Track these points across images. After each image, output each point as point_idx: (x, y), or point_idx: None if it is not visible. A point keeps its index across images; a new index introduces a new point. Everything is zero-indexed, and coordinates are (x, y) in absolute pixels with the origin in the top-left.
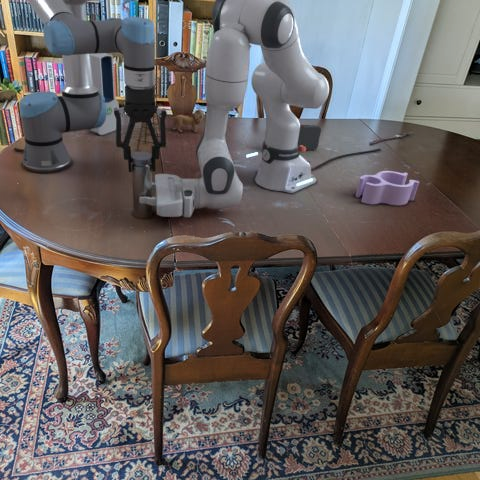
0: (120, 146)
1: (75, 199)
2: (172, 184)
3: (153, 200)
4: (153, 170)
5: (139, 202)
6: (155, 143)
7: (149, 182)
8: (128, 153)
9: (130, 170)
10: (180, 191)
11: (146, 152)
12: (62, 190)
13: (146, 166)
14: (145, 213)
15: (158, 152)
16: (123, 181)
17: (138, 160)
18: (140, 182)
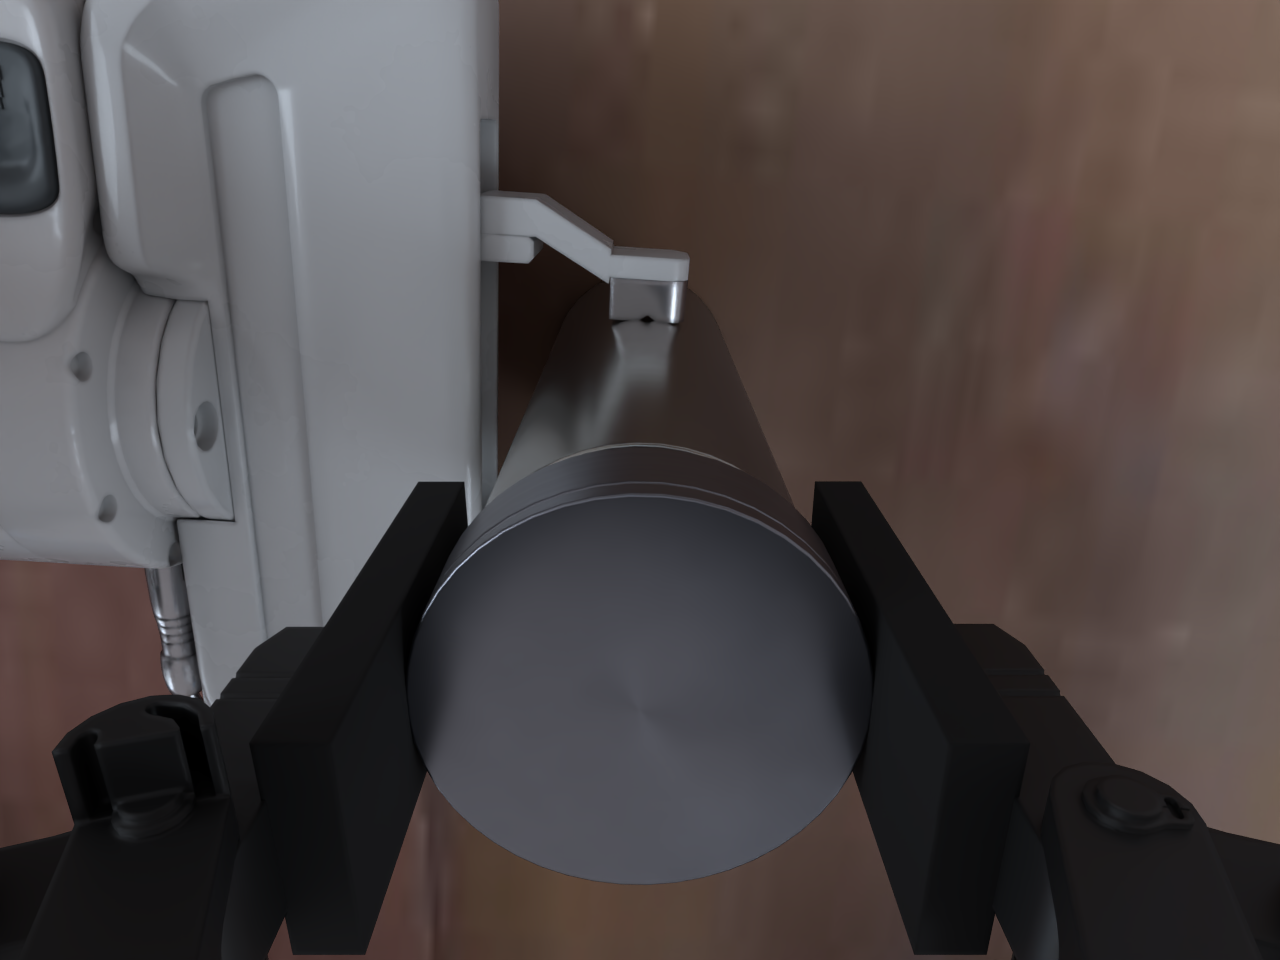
0: (1272, 855)
1: (1164, 634)
2: (276, 531)
3: (520, 196)
4: (446, 490)
5: None
6: (141, 910)
7: (542, 397)
8: (978, 680)
9: (839, 495)
10: (125, 236)
11: (526, 849)
12: (1231, 769)
13: None
14: None
15: (217, 727)
16: (752, 870)
17: (728, 501)
18: (673, 364)
